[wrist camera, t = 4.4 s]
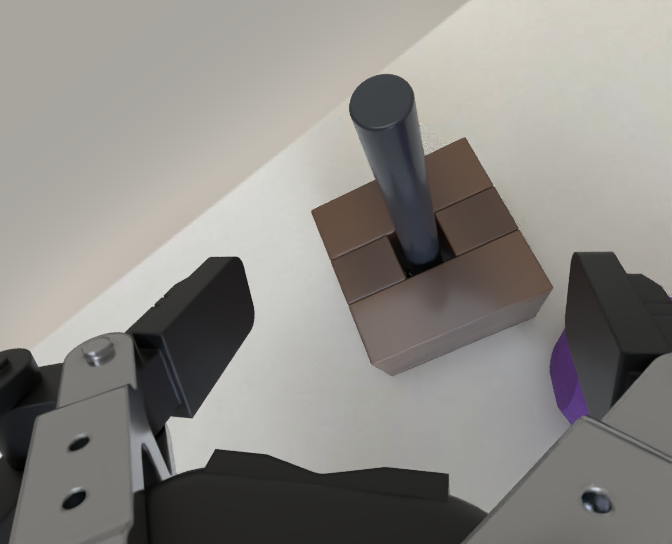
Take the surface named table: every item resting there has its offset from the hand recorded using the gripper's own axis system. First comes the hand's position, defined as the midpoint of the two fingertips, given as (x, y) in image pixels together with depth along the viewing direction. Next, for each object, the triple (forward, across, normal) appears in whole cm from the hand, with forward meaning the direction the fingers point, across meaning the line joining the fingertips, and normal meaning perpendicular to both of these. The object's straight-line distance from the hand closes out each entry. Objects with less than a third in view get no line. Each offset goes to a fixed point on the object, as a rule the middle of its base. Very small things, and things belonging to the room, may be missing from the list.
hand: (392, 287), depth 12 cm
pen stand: (+10, 0, +6) cm, 12 cm away
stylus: (+10, 0, +6) cm, 12 cm away
